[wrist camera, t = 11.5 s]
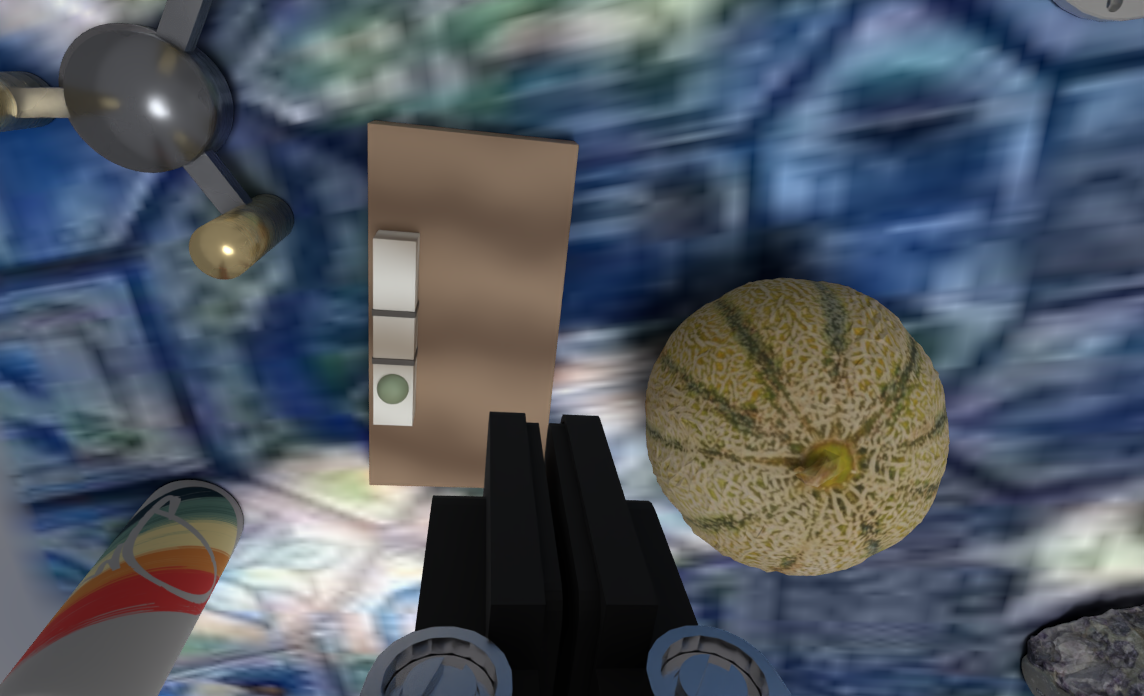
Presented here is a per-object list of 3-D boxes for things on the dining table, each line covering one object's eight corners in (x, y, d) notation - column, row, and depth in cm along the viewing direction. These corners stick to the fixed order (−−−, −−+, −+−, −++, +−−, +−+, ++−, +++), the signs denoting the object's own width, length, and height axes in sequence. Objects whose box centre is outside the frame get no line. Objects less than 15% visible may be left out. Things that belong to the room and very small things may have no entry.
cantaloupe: (785, 491, 45) (915, 677, 31) (583, 434, 41) (630, 616, 28) (898, 292, 40) (1112, 409, 26) (681, 209, 37) (797, 294, 23)
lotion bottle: (226, 468, 40) (0, 815, 21) (259, 544, 42) (80, 917, 24) (129, 487, 39) (-185, 854, 21) (167, 562, 42) (-87, 953, 23)
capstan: (250, -65, 30) (186, -101, 23) (297, 240, 35) (255, 278, 28) (-51, -74, 28) (-206, -114, 22) (45, 244, 34) (-58, 286, 27)
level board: (374, 120, 33) (357, 128, 29) (573, 141, 35) (586, 151, 30) (374, 465, 41) (361, 513, 36) (538, 470, 42) (544, 516, 38)
